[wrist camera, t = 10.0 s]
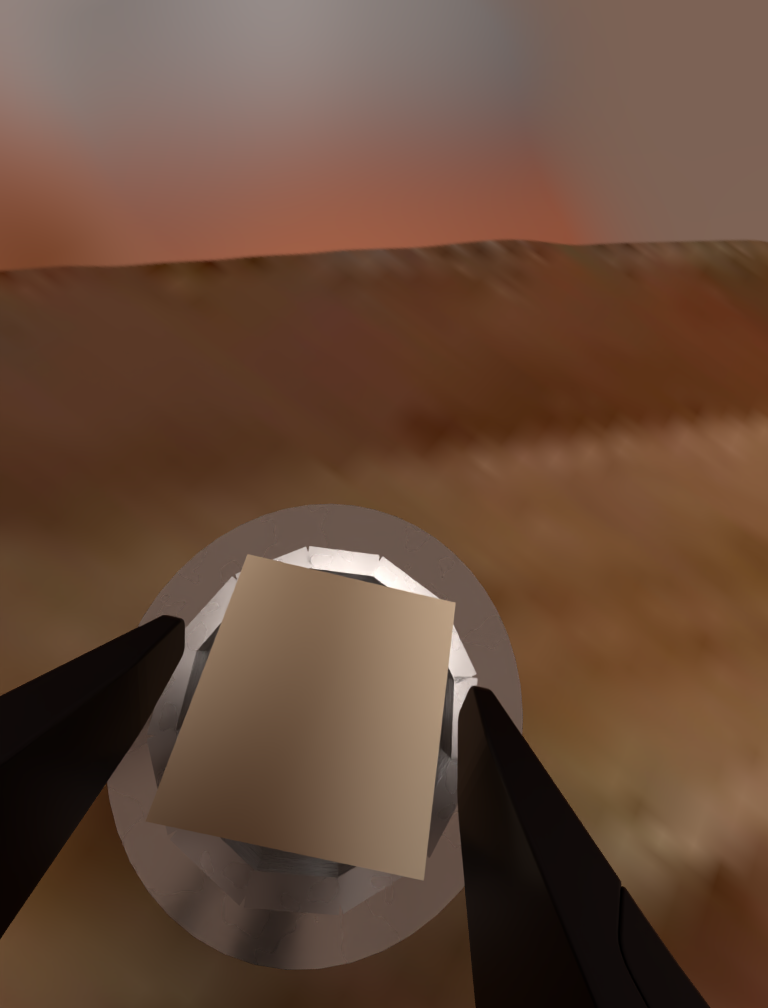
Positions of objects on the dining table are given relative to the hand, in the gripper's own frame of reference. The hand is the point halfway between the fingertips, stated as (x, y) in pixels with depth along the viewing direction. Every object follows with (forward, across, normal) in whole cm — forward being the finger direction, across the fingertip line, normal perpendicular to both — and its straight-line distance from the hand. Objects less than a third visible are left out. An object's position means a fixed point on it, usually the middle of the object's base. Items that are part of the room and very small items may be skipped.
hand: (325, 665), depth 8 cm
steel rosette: (+5, 0, +7) cm, 9 cm away
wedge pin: (+5, 0, +6) cm, 8 cm away
